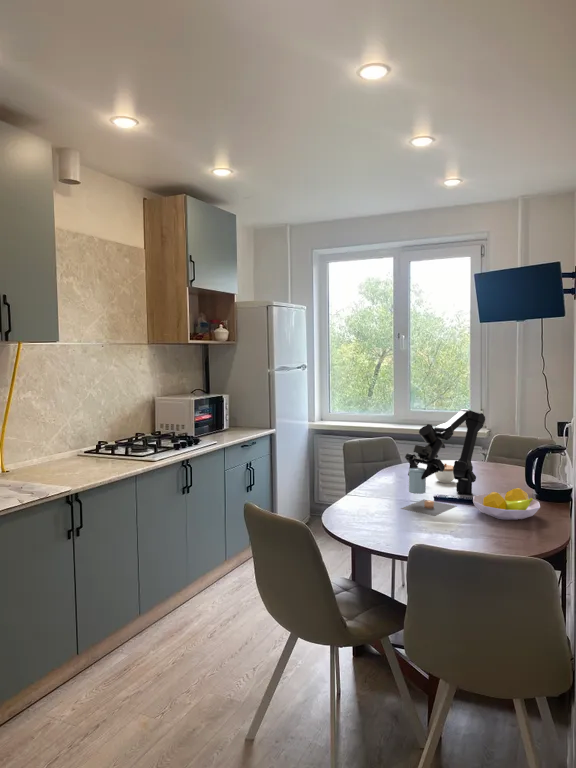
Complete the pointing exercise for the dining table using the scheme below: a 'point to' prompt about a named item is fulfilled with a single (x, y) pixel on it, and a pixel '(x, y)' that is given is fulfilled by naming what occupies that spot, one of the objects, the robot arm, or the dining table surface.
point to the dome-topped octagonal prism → (417, 481)
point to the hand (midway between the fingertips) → (415, 477)
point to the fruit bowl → (507, 504)
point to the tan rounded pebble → (429, 504)
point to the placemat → (434, 511)
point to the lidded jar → (445, 474)
